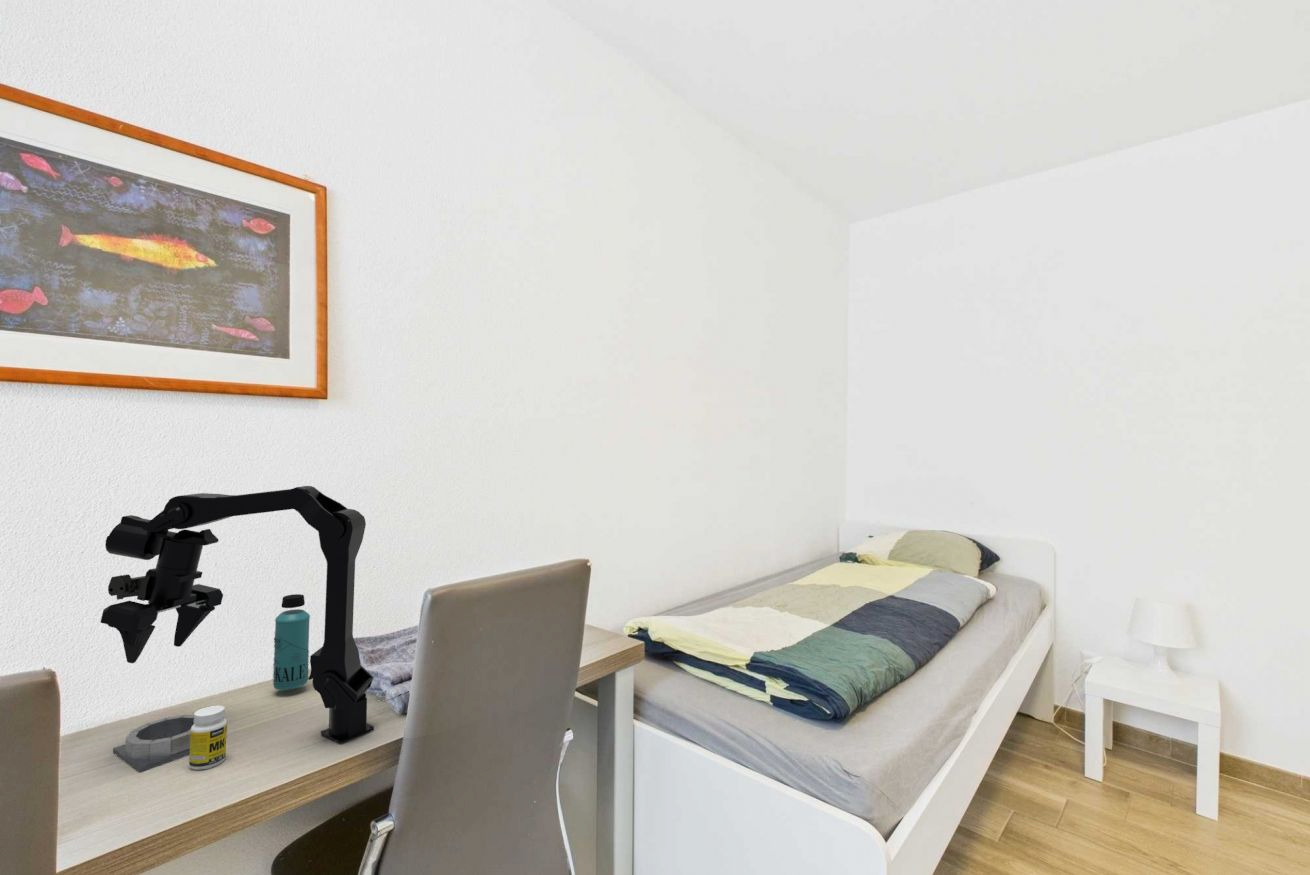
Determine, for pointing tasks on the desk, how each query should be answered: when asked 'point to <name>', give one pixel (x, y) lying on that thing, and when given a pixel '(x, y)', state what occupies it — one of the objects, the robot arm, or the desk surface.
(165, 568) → the robot arm
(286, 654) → the beverage bottle
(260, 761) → the desk surface
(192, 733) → the supplement bottle
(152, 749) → the ring plate
